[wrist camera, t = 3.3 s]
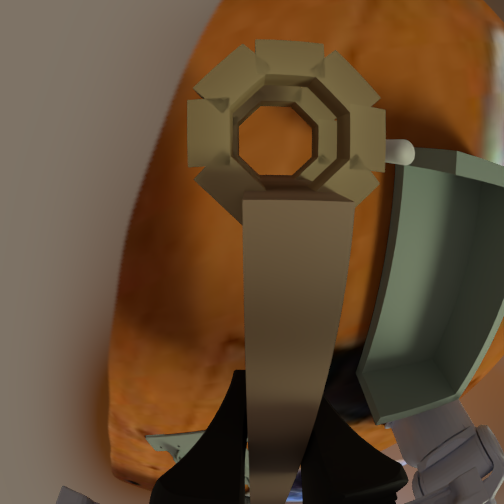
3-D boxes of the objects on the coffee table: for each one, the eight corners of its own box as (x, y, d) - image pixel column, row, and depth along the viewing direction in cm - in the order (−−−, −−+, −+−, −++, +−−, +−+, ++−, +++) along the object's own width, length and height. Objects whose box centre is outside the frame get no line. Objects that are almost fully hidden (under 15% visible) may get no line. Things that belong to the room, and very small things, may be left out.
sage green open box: (431, 358, 23) (458, 399, 17) (319, 376, 23) (334, 433, 17) (481, 166, 15) (536, 180, 9) (349, 139, 15) (399, 137, 9)
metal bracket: (286, 490, 24) (190, 497, 26) (287, 461, 30) (199, 473, 32) (239, 426, 24) (134, 437, 26) (246, 395, 29) (151, 414, 31)
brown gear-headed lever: (294, 439, 16) (301, 506, 11) (234, 440, 16) (231, 508, 11) (329, 92, 9) (405, 40, 3) (216, 89, 9) (175, 21, 3)
